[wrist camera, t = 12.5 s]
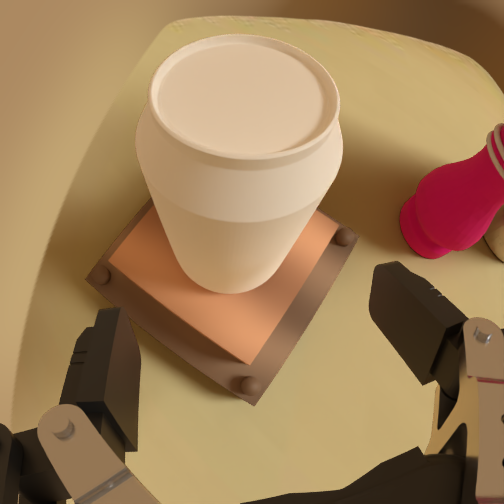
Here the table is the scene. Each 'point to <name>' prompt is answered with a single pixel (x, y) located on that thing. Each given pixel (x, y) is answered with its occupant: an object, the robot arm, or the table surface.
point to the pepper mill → (456, 201)
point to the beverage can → (238, 154)
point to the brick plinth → (207, 351)
